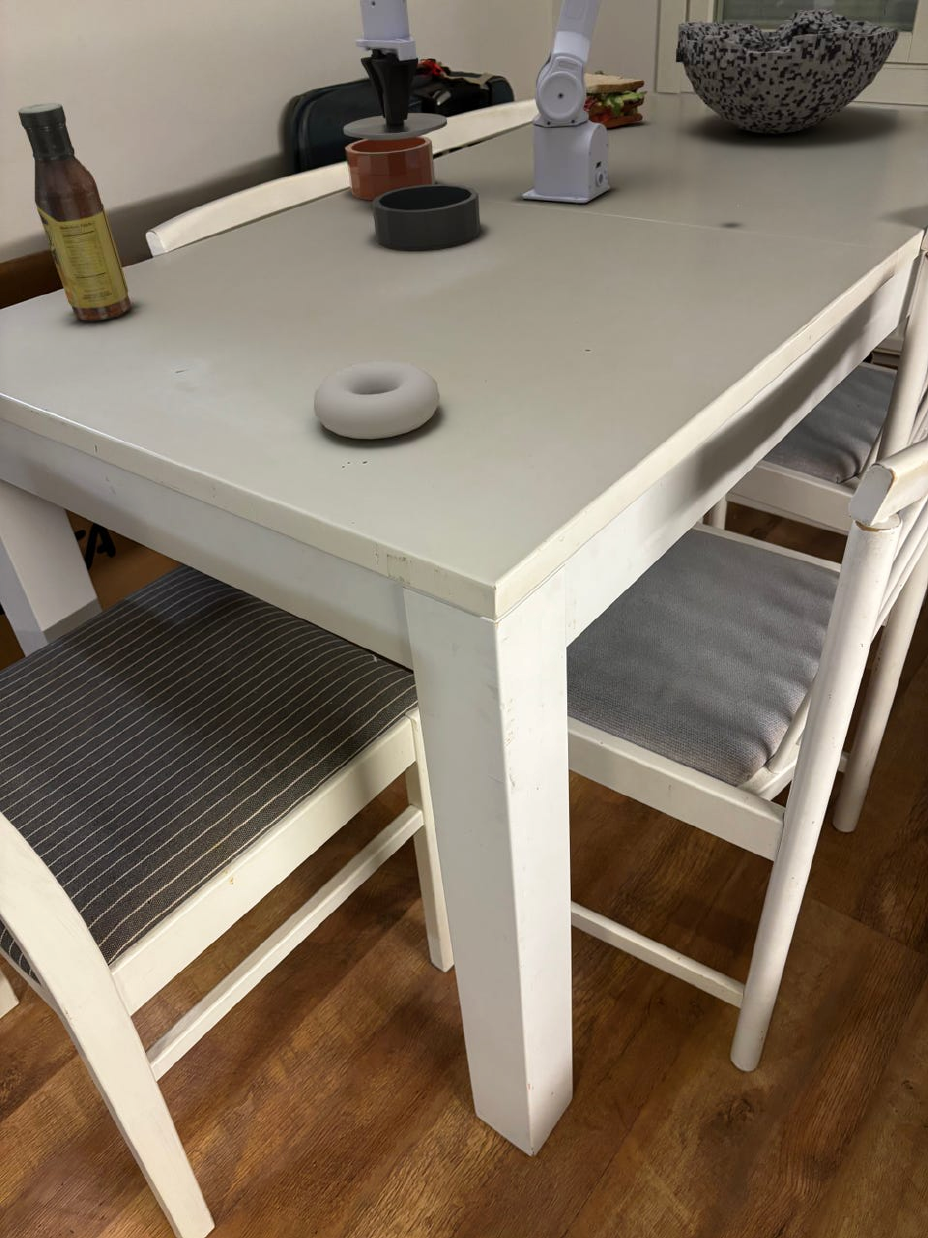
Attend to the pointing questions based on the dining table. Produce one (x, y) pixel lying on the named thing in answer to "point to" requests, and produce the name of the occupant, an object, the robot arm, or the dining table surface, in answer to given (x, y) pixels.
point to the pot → (389, 165)
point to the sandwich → (612, 99)
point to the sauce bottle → (74, 218)
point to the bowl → (783, 67)
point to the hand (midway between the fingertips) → (395, 118)
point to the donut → (376, 399)
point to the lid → (395, 126)
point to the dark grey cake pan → (426, 217)
